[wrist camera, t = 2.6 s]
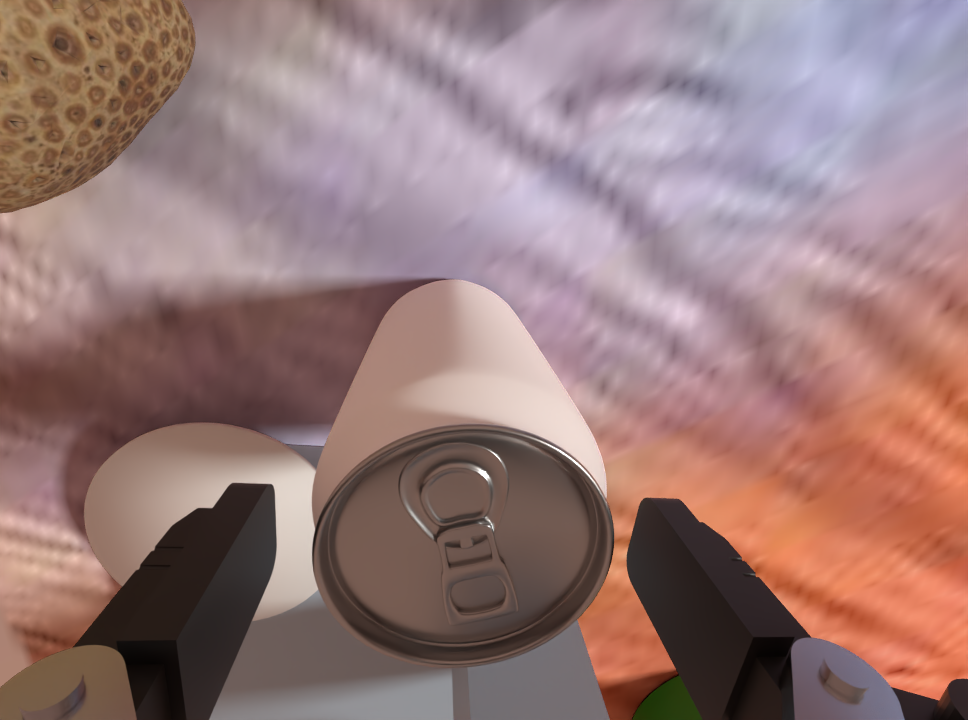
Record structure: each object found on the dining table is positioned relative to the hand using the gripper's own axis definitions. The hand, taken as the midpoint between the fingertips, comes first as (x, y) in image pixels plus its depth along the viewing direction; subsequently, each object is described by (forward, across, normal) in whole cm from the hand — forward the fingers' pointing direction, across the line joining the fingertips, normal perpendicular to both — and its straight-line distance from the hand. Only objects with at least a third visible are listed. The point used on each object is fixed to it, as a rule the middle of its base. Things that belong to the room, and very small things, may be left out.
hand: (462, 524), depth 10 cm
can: (+11, 0, -1) cm, 11 cm away
